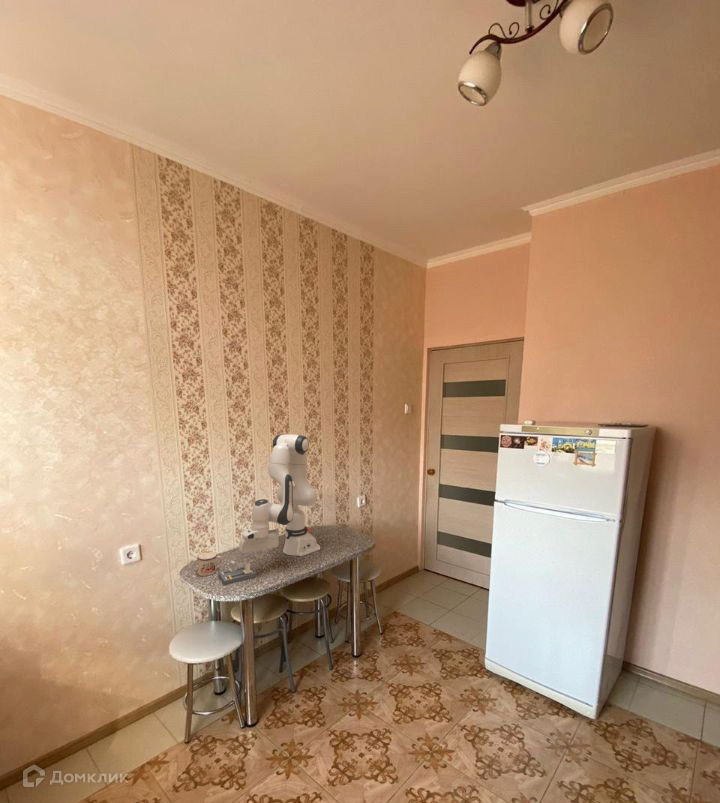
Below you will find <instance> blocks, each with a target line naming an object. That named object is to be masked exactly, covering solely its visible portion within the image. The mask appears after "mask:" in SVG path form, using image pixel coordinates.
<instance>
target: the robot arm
mask: <svg viewBox="0 0 720 803" xmlns="http://www.w3.org/2000/svg"><path fill="white" fill-rule="evenodd" d="M309 447H310V442H309V439H308V438H307V436H305V435H301V434H299V435H298V434H291V433H290V434H286V433H285V434H282V433H279V434H277V435H275V437H274V438H273V440H272V448H273V449H272V450H271V453H270V457H269V462H268V467H267V473H268V475H269V478H271V479H272V480H273V481H274V482H276V483H278V484H279V485H280V486H279V487H278V489H277V491H276V498H277V500H278V502H280V504H278V503H273V502H270V501H269V500H268V499H265V498H262V499H258V500H256V501H255V502H254V503H253V507H252V511H251V522H252V524H251V527H250V528H248V529H247V530H244V531H242V533H241V536H242V537H241V538H240V541H239V546H238V551H239V553H241V555H244V554H250V553H254V555H255V560H261V559H263V556H264V554H265V551H266V550H270V549H274V548H275V549H276V548H278V547H279V544H280V542H279V536H280V531H279V530H278V529H270V523H269V522H271V523H274V524H275V523H276V524H279V525H282V526H285V530H284V535H285V536H284V538H285V540H284V545H283V549H282V553H283V554H285V555H287V556H296V557H303V556H306V555H309V554H312V553H314V552H317V551H320V550H321V545H320V544H318V543H317V539H316V537H315V536H313V535H312V534H311V533H309V532H311V529H312V528H310V527H308V526H306V514H305V512H304V511H303V510H302V509H301V508H300V507H301V506H303V507H306V506H307V507H309V506H313V505H314V504H315V503H316V501H317V492H316V490H315V489H314V488H313V487H312V485H311V484H310V482H309V479H308V474H307V473H308V472H307V471H308V470H307V468H308V457H307V456H308V454H307V451H308V449H309ZM293 484H294V485H293ZM258 552H260V553H259V554H258Z"/></svg>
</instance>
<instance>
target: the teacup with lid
mask: <svg viewBox="0 0 720 803" xmlns="http://www.w3.org/2000/svg"><path fill="white" fill-rule="evenodd" d="M197 559H198V566H197V567H198V570H197V574H198V576H201V577H210V576H212V575H214V574H215V573H216V572H217V567H218V566H220V565H221V564H222V562H223V557H222V556H221V555H217V553H216V552H215V551H210V549H206V550H205V551H204V552H202V553H199V555H198V556H197ZM217 559H220V561H219V563H217Z"/></svg>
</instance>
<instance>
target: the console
mask: <svg viewBox="0 0 720 803" xmlns="http://www.w3.org/2000/svg"><path fill="white" fill-rule="evenodd" d="M236 565H237V564H236V561H235V560H230V568H228V569H226V570H223V571H222V570H221V571H218V578H219V579H220V581H221V582H222V584H223V586H227V585H231V584H235V583H239V582H242V581H245V580H249V579H254V578H257V572H256V571H255V570H254V568H253V567H252V566H251V565H250V570H251V573H248V574H244V572H243V570H245V565H243V566H239V567H236Z"/></svg>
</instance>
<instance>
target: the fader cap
mask: <svg viewBox="0 0 720 803" xmlns="http://www.w3.org/2000/svg"><path fill="white" fill-rule="evenodd" d="M244 566H245V570H243V572H244V574H248V573H251V570H250V566H251V564H250V562H249V561H246V562H244Z"/></svg>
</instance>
